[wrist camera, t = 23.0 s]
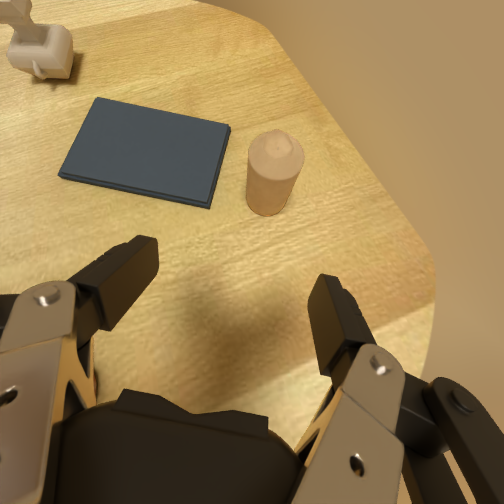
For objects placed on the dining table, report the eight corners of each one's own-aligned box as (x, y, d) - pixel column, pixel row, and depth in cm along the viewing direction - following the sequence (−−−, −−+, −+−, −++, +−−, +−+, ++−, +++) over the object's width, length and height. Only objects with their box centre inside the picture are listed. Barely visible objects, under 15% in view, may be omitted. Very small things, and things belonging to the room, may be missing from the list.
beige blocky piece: (76, 93, 30) (15, 16, 22) (29, 92, 30) (-51, 13, 22) (85, 48, 32) (33, -37, 24) (41, 47, 32) (-27, -41, 24)
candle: (292, 206, 28) (320, 156, 18) (257, 223, 27) (267, 179, 17) (273, 174, 29) (290, 110, 19) (239, 189, 28) (238, 130, 18)
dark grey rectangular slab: (62, 178, 27) (52, 172, 26) (98, 103, 30) (92, 93, 29) (209, 209, 27) (207, 204, 26) (230, 131, 30) (230, 122, 29)
